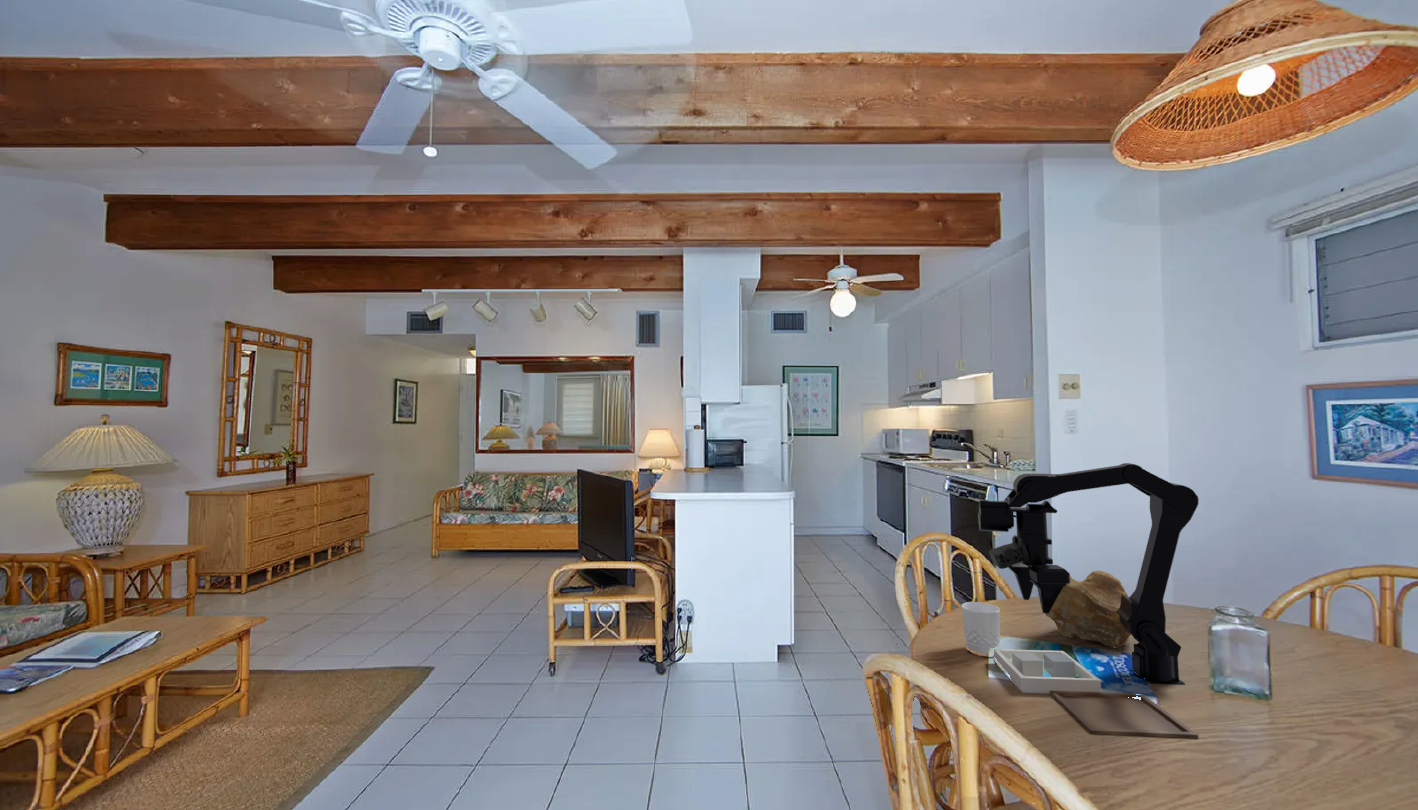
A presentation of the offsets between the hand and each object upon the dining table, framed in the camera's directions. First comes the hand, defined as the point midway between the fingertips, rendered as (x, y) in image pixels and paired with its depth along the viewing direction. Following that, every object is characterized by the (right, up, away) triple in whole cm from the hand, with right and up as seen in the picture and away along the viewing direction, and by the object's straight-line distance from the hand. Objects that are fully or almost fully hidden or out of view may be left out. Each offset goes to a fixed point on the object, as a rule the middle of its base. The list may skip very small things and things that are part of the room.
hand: (1035, 606), depth 119 cm
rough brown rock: (+23, -13, +14) cm, 30 cm away
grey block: (0, -12, -8) cm, 14 cm away
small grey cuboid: (-6, -12, -7) cm, 15 cm away
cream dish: (-3, -12, -7) cm, 14 cm away
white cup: (-8, -13, +7) cm, 17 cm away
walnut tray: (+2, -11, -22) cm, 25 cm away
